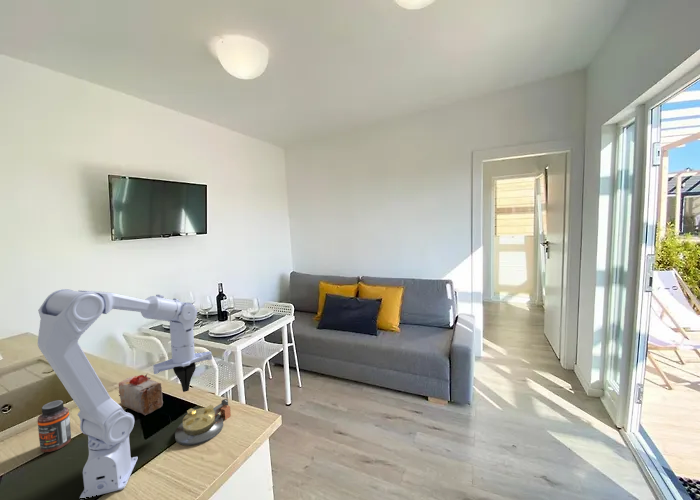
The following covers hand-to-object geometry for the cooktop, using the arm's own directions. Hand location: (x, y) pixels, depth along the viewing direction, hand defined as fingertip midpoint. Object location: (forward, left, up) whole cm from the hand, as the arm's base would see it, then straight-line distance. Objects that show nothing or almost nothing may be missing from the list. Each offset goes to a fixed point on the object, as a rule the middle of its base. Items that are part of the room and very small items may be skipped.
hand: (185, 389), depth 87 cm
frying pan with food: (-4, -4, -10) cm, 12 cm away
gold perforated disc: (-3, -6, -9) cm, 11 cm away
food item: (+15, +15, -10) cm, 24 cm away
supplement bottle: (+2, +31, -10) cm, 33 cm away
